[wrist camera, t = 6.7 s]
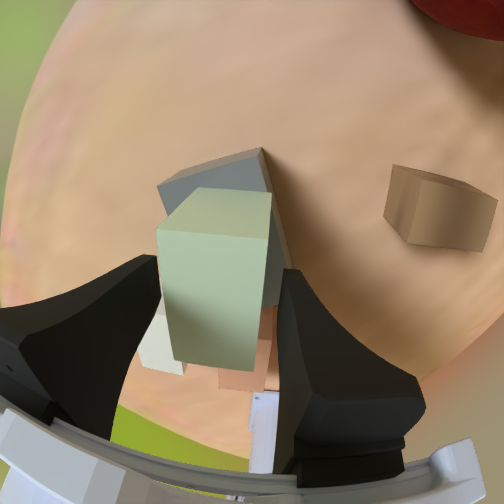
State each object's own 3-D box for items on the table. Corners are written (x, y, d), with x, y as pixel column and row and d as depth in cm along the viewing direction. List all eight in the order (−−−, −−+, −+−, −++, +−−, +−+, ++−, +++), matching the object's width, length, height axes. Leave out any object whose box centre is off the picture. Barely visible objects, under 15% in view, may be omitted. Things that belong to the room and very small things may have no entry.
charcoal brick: (292, 265, 19) (295, 302, 15) (222, 279, 20) (210, 316, 16) (261, 146, 15) (257, 156, 12) (182, 169, 16) (156, 186, 13)
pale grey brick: (195, 339, 23) (183, 375, 19) (158, 332, 23) (142, 366, 19) (192, 281, 20) (175, 317, 16) (149, 275, 20) (127, 308, 16)
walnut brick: (463, 181, 14) (498, 200, 11) (452, 226, 16) (482, 252, 12) (392, 163, 15) (422, 179, 11) (382, 215, 16) (406, 243, 13)
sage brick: (261, 300, 15) (253, 372, 11) (200, 293, 15) (174, 360, 11) (271, 192, 12) (268, 239, 8) (198, 187, 13) (155, 229, 8)
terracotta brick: (266, 355, 23) (263, 393, 19) (226, 351, 23) (218, 388, 19) (273, 301, 20) (272, 340, 16) (226, 296, 20) (216, 334, 17)
